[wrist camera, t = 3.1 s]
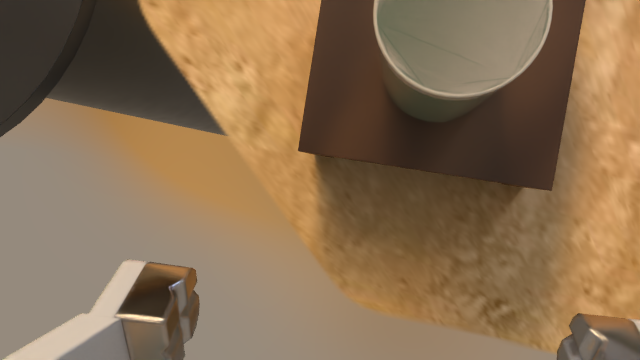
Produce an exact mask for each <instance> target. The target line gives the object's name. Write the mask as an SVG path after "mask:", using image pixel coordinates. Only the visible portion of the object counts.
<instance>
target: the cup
mask: <svg viewBox="0 0 640 360" xmlns="http://www.w3.org/2000/svg"><path fill="white" fill-rule="evenodd" d="M552 11H553V1H552V0H374V8H373V24H374V30H375V36H376V41H377V44H378V52H379V59H380V67H381V74H382V80H383V84H384V87H385V89H386V91H387V93H388V95H389V97H390V98H391V100H392V101H393V102H394V103H395V105H396V106H397V107H399V108H400V109H401V110H402V111H403V112H405V113H406V114H408V115H410V116H412V117H414V118H416V119H419V120H423V121H428V122H446V121H451V120H454V119H457V118H460V117H462V116H464V115H466V114H468V113H469V112H471V111H472V110H474V109H475V108H476V107H478V106H479V105H480V104H481V103H483V102H484V101H485V100H487V99H488V98H489V97H490V96H492V95H493V94H494V93H496V92H497V91H498V90H499V89H501V88H503V87H504V86H506V85H508V84H509V83H511V82H512V81H513V80H514V79H516V78H517V77H518V76H519V75H521V74H522V73H523V72H524V71H525V70H526V69H527V68H528V67H529V66H530V65H531V64H532V62H533V61H534V59H535V58H536V57H537V55H538V54H539V52H540V50H541V49H542V47H543V45H544V43H545V40H546V38H547V35H548V33H549V29H550V25H551V21H552Z"/></svg>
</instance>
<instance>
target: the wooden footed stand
mask: <svg viewBox="0 0 640 360" xmlns="http://www.w3.org/2000/svg"><path fill="white" fill-rule="evenodd" d="M552 1H553V11H552V21H551V25H550V29H549V33H548V35H547V38H546V40H545V43H544V45H543V47H542V49H541V50H540V52H539V54H538V55H537V57H536V58H535V59H534V61H533V62H532V64H531V65H530V66H529V67H528V68H527V69H526V70H525V71H524V72H523V73H522V74H521V75H519V76H518V77H517V78H516V79H514V80H513V81H512V82H511V83H509V84H508V85H506V86H504V87H503V88H501V89H499V90H498V91H497V92H496V93H494V94H493V95H492V96H490V97H489V98H488V99H487V100H485V101H484V102H483V103H481V104H480V105H479V106H478V107H476V108H475V109H474V110H472V111H471V112H469V113H468V114H466V115H464V116H462V117H460V118H457V119H454V120H451V121H446V122H428V121H423V120H419V119H416V118H414V117H412V116H410V115H408V114H406V113H405V112H403V111H402V110H401V109H400V108H399V107H397V106H396V105H395V103H394V102H393V101H392V100H391V98H390V97H389V95H388V93H387V91H386V89H385V87H384V84H383V80H382V74H381V67H380V59H379V52H378V44H377V41H376V36H375V30H374V24H373V8H374V0H321V7H320V13H319V20H318V26H317V32H316V39H315V45H314V52H313V58H312V64H311V71H310V77H309V84H308V90H307V96H306V103H305V109H304V116H303V122H302V128H301V135H300V141H299V148H298V151H300V152H305V153H310V154H315V155H321V156H327V157H339V158H345V159H351V160H358V161H364V162H370V163H377V164H383V165H390V166H396V167H402V168H409V169H415V170H421V171H428V172H434V173H441V174H447V175H453V176H460V177H466V178H472V179H479V180H485V181H492V182H498V183H502V184H506V185H512V186H518V187H525V188H533V189H541V190H549V191H552V187H553V181H554V175H555V170H556V164H557V159H558V153H559V147H560V142H561V136H562V130H563V125H564V119H565V113H566V108H567V102H568V97H569V91H570V85H571V80H572V74H573V68H574V63H575V57H576V51H577V46H578V40H579V35H580V29H581V23H582V18H583V12H584V6H585V1H586V0H552Z"/></svg>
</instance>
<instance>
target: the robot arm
mask: <svg viewBox="0 0 640 360" xmlns="http://www.w3.org/2000/svg"><path fill="white" fill-rule="evenodd" d="M196 283H197V276H196V270H195V269H193V268H189V267H182V266H175V265H168V264H161V263H154V262H144V261H137V260H130V259H127V260H125V261H124V262H122V263H121V265H120V266H119V268H118V269H117V271H116V272H115V274H114V275H113V277H112V278H111V280H110V281H109V283H108V284H107V286H106V287H105V289H104V290H103V292H102V293H101V295H100V297H99V298H98V300H97V301H96V303H95V304H94V306H93V307H92V309H91V310H90V312H89V313H88V314H82V313H81V314H79V315H78V316H76V317H74V318H72V319H71V320H69V321H67V322H66V323H64V324H62V325H60V326H59V327H57V328H55V329H53V330H52V331H50V332H48V333H47V334H45V335H43V336H41V337H40V338H38V339H36V340H34V341H33V342H31V343H29V344H28V345H26V346H24V347H22V348H21V349H19V350H17V351H15V352H14V353H12V354H10V355H9V356H7V357H5V358H3V359H2V360H183V359H184V356H185V351H184V343H186V342H187V341H188V340H190V339H191V338H192V336H193V334H194V331H195V328H196V325H197V320H198V315H199V296H198V295H197V294H196V292H195V291H194V290H193V289H194V287H195V285H196ZM569 327H570V330H571V332H572V334H571V335H570V336H568V337H566V338H564V339H563V340H562V341H561V344H560V346H559V348H558V351H557V360H640V320H636V319H625V318H617V317H608V316H598V315H589V314H580V313H578V314H577V315H575V316H574V317H573V319H572V321H571V323H570V325H569Z"/></svg>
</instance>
